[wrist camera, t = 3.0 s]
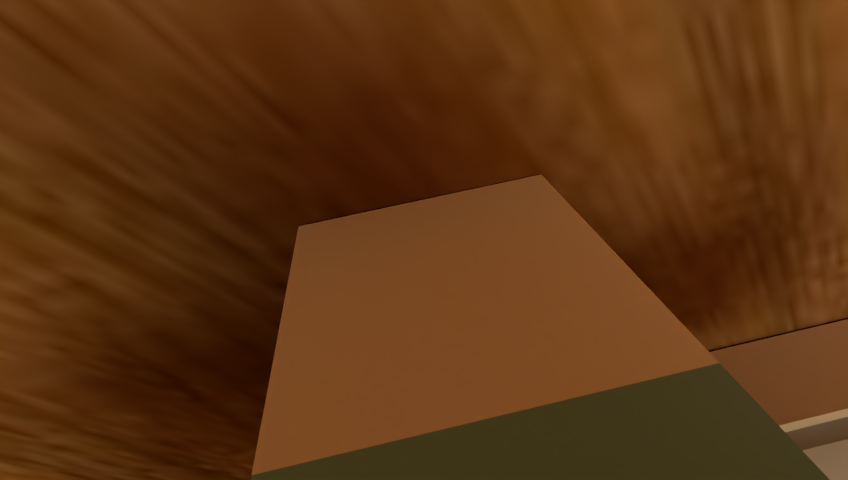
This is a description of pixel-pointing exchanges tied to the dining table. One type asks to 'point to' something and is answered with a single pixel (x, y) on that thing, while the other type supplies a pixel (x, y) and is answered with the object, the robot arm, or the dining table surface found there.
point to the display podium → (801, 388)
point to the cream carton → (496, 356)
